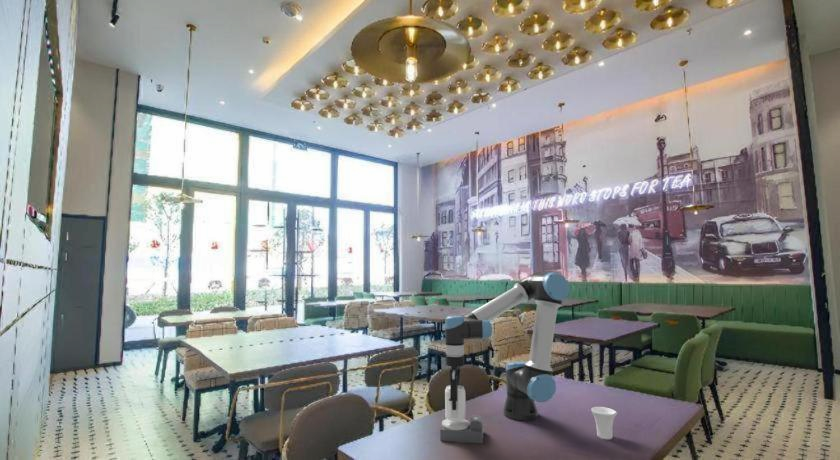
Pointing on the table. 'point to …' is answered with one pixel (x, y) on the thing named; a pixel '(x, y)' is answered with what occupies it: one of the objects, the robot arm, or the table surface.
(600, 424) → the cup
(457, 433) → the grey hot plate stirrer
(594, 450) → the table surface
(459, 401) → the beverage can
